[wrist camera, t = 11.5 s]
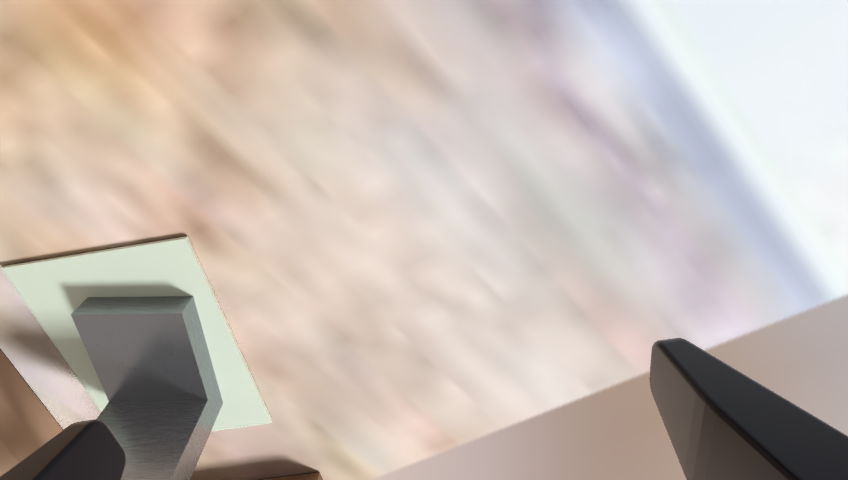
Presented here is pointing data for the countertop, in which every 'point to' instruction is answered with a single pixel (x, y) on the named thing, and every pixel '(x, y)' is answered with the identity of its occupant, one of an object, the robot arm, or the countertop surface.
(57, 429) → the brown chevron piece
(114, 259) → the mat
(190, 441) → the bracket
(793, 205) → the countertop surface
